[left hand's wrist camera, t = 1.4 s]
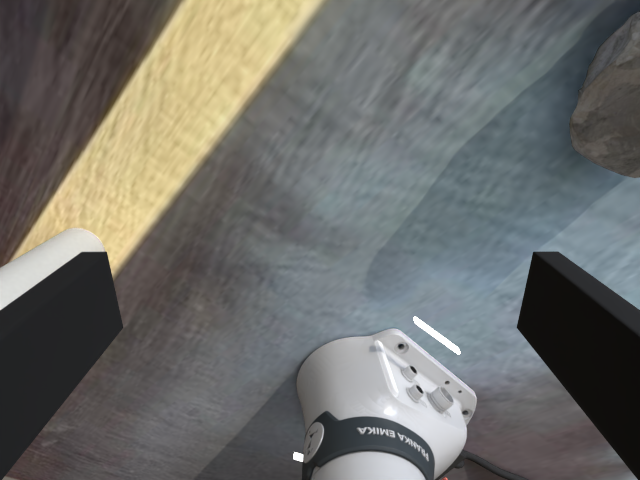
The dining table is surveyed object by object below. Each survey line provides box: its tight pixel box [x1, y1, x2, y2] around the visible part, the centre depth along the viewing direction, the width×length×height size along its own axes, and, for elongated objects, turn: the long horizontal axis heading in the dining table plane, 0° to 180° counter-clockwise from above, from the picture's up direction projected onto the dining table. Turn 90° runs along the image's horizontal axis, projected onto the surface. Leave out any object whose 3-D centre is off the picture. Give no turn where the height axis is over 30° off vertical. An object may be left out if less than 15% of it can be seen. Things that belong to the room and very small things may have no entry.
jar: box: [0, 228, 105, 310], centre depth 34 cm, size 5×5×19 cm
